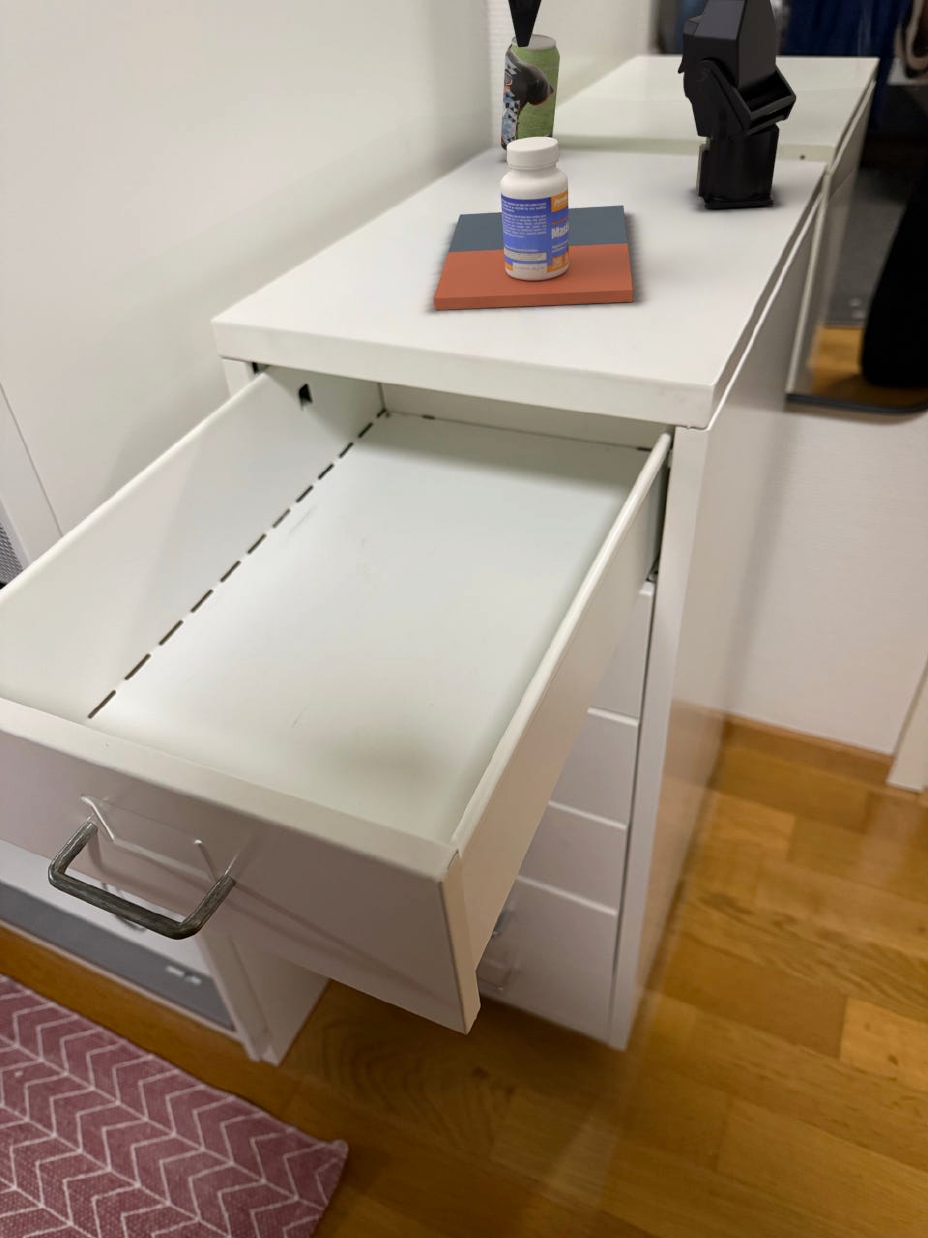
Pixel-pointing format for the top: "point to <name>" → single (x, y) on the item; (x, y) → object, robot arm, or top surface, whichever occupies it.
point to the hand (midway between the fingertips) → (524, 38)
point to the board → (588, 279)
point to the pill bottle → (535, 210)
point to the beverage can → (529, 89)
